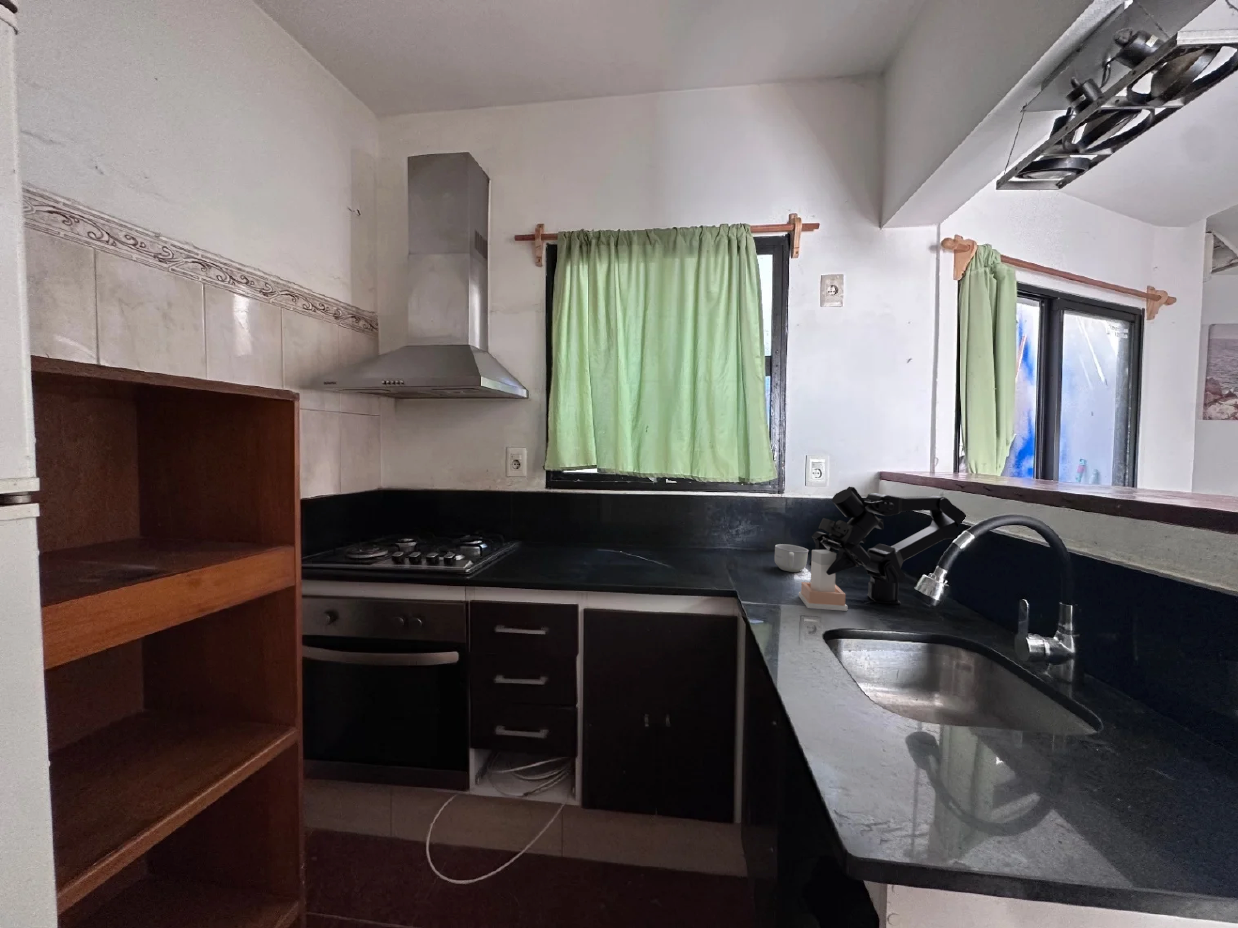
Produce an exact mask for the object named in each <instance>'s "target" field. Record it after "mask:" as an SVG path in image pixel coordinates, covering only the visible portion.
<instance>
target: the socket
mask: <svg viewBox="0 0 1238 928" xmlns="http://www.w3.org/2000/svg"><path fill="white" fill-rule="evenodd" d="M810 586H811V581H810V582H808V581H801V587H800V588H801V590H800V591H798V598H800V599H801V601H802V602H803V604H804V606H805V607H806V608H807V609H818V610H831V611H832V610H833V611H843V612H844V611H845V612H847V611H848V608H849V607H848V605H847V604H846V593H845V592H844V591H843V590H842V589H841V588H840V587H839V586H838V585H837V584H836V583H835V592H820V591H812V590H811V589H810Z"/></svg>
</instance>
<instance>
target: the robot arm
mask: <svg viewBox="0 0 1238 928" xmlns="http://www.w3.org/2000/svg"><path fill="white" fill-rule="evenodd" d="M831 501H832V503H833V504H834V505H835V507H836V508H837V509H838V510H839V511H840V512H841V513H842V515H844V518H845V517H846V518H850V519H849V520H848V521H847V522H846V521H844V520H840V519H839V520H837V521H834V520H832V519H828V518H824V517H823V518H822V520H821V521H820V524H819V526H818V529H819V530H821V531H815V532H814V533H813V534H812V535H811V538H812V540H813V541H814V544H815V549H814V550H829V551H831V552H835V550H837V551H838V555H837V556H836V560H835V561H834V562H833V563H832V565H831V566H830V567H829V568H828V570H827V571H826V573H827V574H828V575H831V574H834V573H835V574H836V573H840V572H842V571H845V570H848V569H853V568H854V567H860V566H863V568H864V569H865V572H866V575H868V576H870V581H868V587H867V588H868V589H867V597H869V598H870V599H871V600H872V601H873V602H874V603H877V604H878V603H880V604H893V605H901V601H900V600H899V587H900V586H899V584H900V583H904V582H905V581H904V580H905V578H906V574H905V572H903V571H902V569H901V568H902V566H903V563H904V562H905V561H906V560H908V559H910V558H912V557H914V556H916V555H917V554H919V553H921V552H923V551H925V550H927V549H928V548H931V547H933V546H935V545H936V544H938V543H940V542H943V540H944V541H945V540H949V539H950V540H951V539H956V538H955V537H956V536H957V535H958V534H959V532H958V533H957V534H956V532H955V531H956V529H957V527H958V525H960V523H962V521H963V520H964V519H965V517H966V515H967V514H966V513H965V512H964V511H963V510H962V509H960V508H958V507H957V506H956V505H954V504H953V503H952V502H951V501H950V500H949V499H948V498H947V497H946V496H942V495H941V496H940V495H939V496H938V495H933V494H932V495H928V496H927V495H925V496H921V495H920V496H918V495H917V496H894V495H890V494H889V495H888V494H884V493H878V492H877V493H876V492H871V493H868V494H867V496H864V497H862V496H861V495H860V493H859V492H858V490H857V488H856V487H854V486H848V487H847V488H845V489H842V490H840V491H839V492H836V493H835V494H834V496H833V497H832V499H831ZM914 511H915V512H916V511H917V512H919V511H920V512H921V511H922V512H923V511H929V516H930V517H931V518H932V520H931V523H930V525H929V526H927V527H925V528H924V529H921V530H920V531H918V532H916V533H914V534H912V535H909V536H908V537H907V538H905V539H903V540H901V541H899V542H897V543H895V544H893V545H891V546H890V545H886V544H883V543H877V544H875V546H873V547H871V548H867V551H866V550H865V549H864V548H863V547H862V545H861V544H860V543H863V544H865V543H866V542H867V539H866V537H867V536H868V535H869V534H870V532H871V531H873V530H874V529H875V528H876V529H879V530H884V529H885V528H884V527H885V526H884V519H883V518H879V517H877V516H876V515H880V516H884V517H889V516H891V517H892V516H895V515H898V514H900V513H901V512H902V513H903V512H914ZM875 514H876V515H875ZM822 531H824V532H827V533H824V532H822ZM828 533H829V534H828ZM954 534H956V535H954ZM811 561H812V558H811V559H810V561H809V563H808V565H809V566H810V567H811Z"/></svg>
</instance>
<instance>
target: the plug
mask: <svg viewBox="0 0 1238 928" xmlns="http://www.w3.org/2000/svg"><path fill="white" fill-rule="evenodd" d="M836 558H837V553H836V552H835V551H833V552H831V551H829V550H815V549H812V550H811V559H812V561H811V560H810V561H811V566H810V582H811V586H810V589H811V590H812V591H820V592H835V584H836V573H834V574H831V575H828V574H827V573H826V571H827V570H828V568H829V567H830V566H831V565H832V563H833V562H834V561H835V560H836Z"/></svg>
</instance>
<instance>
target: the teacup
mask: <svg viewBox="0 0 1238 928" xmlns="http://www.w3.org/2000/svg"><path fill="white" fill-rule="evenodd" d="M808 553H809V549H808V548H805V547H803V546H799V545H795V544H785V543H784V544H783V543H782V544H781V543H779V544H775V546H774V563H775V564H776V566H777V567H778V568H779V569H780V570H782V571H785V572H790V573H800V572H801V571H802V570H804V569H806V566H807V563H808V556H809V555H808Z"/></svg>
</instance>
